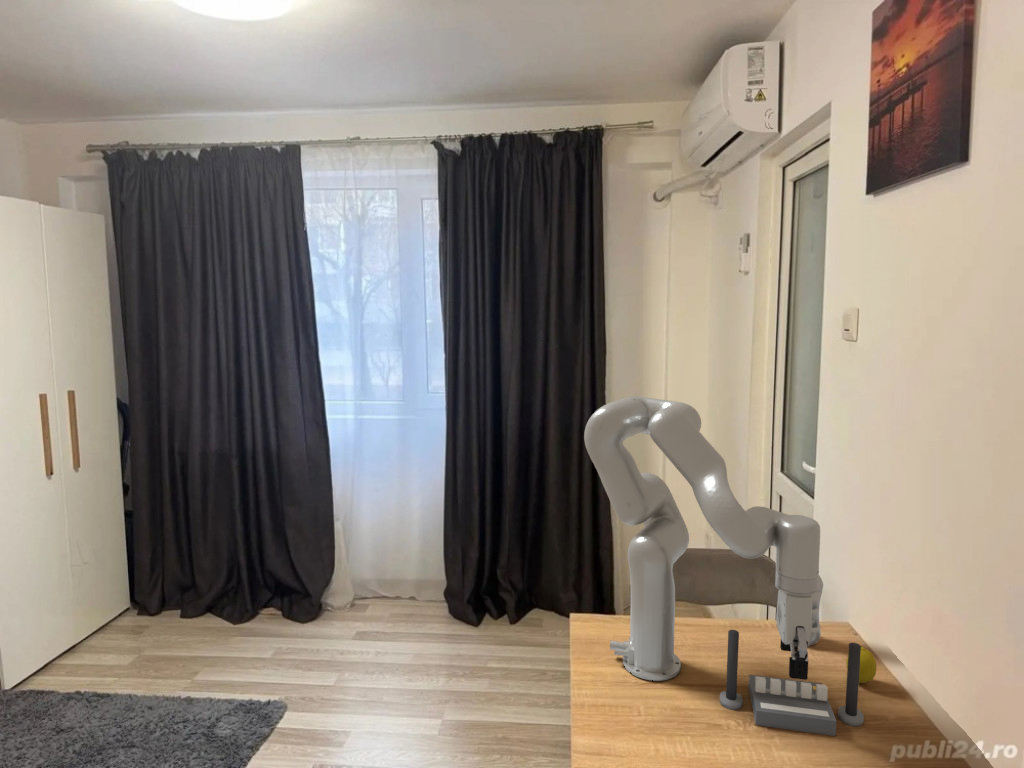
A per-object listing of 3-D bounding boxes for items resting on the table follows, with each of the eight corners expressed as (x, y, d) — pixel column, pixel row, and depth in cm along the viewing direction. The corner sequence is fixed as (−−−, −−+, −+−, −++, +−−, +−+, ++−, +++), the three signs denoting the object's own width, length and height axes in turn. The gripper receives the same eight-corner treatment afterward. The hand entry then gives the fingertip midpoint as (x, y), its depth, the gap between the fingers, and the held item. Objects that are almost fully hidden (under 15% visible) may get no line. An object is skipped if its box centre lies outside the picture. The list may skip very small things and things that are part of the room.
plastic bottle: (818, 636, 154) (822, 556, 151) (821, 650, 148) (826, 568, 145) (789, 631, 156) (793, 553, 153) (791, 646, 150) (795, 564, 147)
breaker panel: (755, 724, 123) (756, 709, 122) (748, 687, 134) (749, 673, 134) (835, 736, 119) (836, 720, 119) (821, 696, 131) (822, 682, 130)
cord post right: (841, 724, 123) (845, 650, 120) (835, 709, 127) (839, 638, 125) (866, 727, 122) (871, 653, 119) (859, 712, 126) (864, 640, 124)
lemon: (879, 692, 132) (881, 656, 131) (849, 689, 133) (852, 653, 132) (869, 676, 138) (872, 641, 136) (842, 673, 139) (844, 639, 138)
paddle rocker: (755, 692, 127) (755, 679, 127) (754, 689, 128) (754, 676, 128) (827, 701, 124) (828, 688, 124) (826, 698, 125) (826, 685, 125)
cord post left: (720, 708, 128) (722, 636, 126) (718, 694, 132) (721, 625, 130) (743, 711, 127) (746, 639, 125) (741, 697, 131) (744, 627, 129)
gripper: (769, 561, 132) (766, 639, 134) (783, 599, 116) (779, 687, 118) (808, 564, 130) (805, 642, 133) (828, 603, 114) (824, 692, 116)
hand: (793, 663), depth 125 cm, fingers open, 9 cm apart
